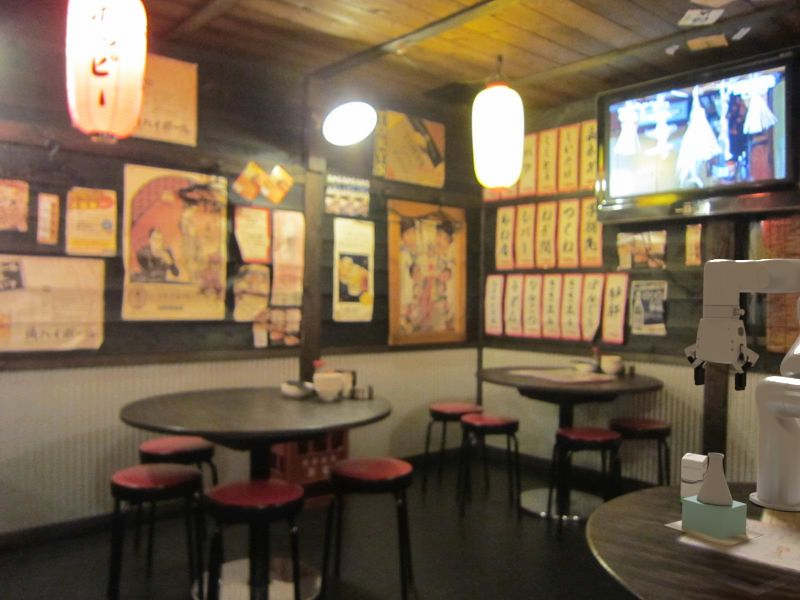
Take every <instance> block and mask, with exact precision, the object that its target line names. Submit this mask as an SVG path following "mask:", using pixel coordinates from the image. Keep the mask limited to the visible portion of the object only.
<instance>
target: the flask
mask: <svg viewBox="0 0 800 600" xmlns="http://www.w3.org/2000/svg"><path fill="white" fill-rule="evenodd" d="M707 456H708V457H707V458H708V465H707V474H706V476H705V479H704V481H703V484H702V486H701V489H700V491H699V493H698V496H697V499H698V500H700V501H702V502H704V503H710V504H716V505H732V504H733V498H732V494H731V491H730V489H729V485H728V482H727V479H726V476H725V474H724V473H725V472H724V466H723V459H724V458H725V455H724V454H723V453H719V452H708V453H707Z"/></svg>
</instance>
